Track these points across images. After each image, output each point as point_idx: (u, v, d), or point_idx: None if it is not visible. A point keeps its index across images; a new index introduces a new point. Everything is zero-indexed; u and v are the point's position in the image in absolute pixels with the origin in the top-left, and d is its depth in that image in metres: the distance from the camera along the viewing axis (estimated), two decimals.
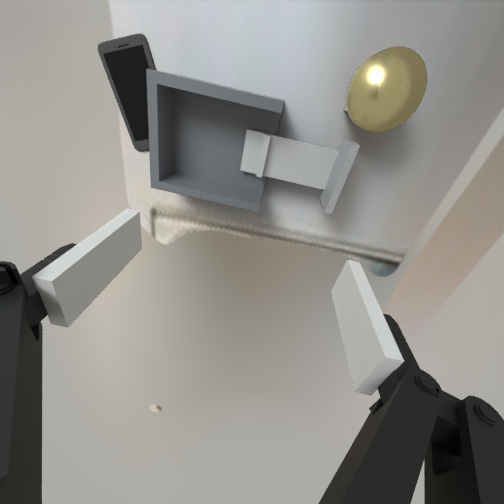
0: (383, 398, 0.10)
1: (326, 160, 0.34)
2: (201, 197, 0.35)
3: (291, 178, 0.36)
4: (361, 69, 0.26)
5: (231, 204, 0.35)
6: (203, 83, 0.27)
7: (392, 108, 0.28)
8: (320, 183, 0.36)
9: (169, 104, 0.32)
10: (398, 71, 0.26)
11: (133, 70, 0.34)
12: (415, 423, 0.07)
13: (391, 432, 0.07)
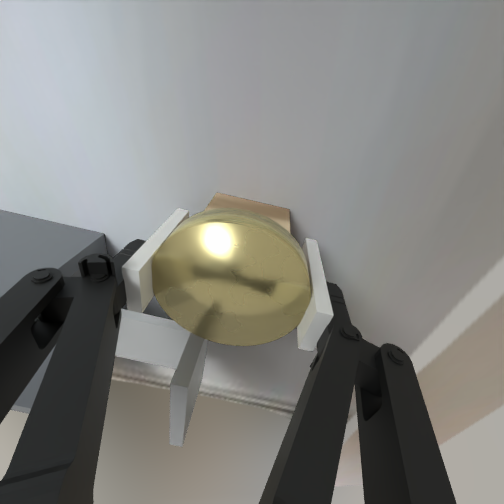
0: (319, 351, 0.11)
1: (178, 341, 0.19)
2: None
3: (131, 355, 0.21)
4: (158, 255, 0.11)
5: (19, 410, 0.20)
6: None
7: (249, 317, 0.13)
8: None
9: None
10: (241, 265, 0.11)
11: None
12: (343, 369, 0.09)
13: (324, 382, 0.08)
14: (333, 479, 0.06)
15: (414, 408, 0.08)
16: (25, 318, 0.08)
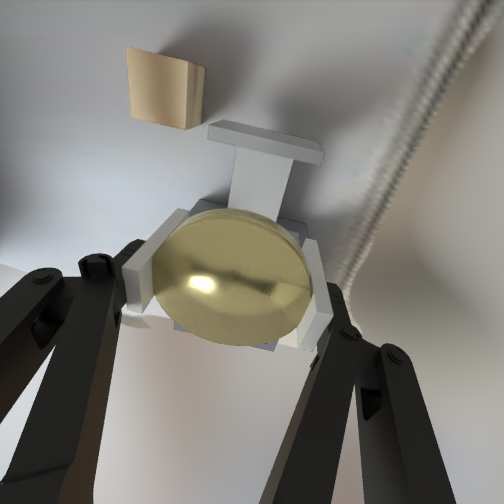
0: (319, 351, 0.11)
1: (251, 152, 0.23)
2: None
3: (276, 200, 0.26)
4: (158, 255, 0.11)
5: None
6: None
7: (249, 318, 0.13)
8: None
9: None
10: (241, 265, 0.11)
11: None
12: (343, 368, 0.09)
13: (324, 382, 0.08)
14: (333, 479, 0.06)
15: (414, 408, 0.08)
16: (25, 318, 0.08)
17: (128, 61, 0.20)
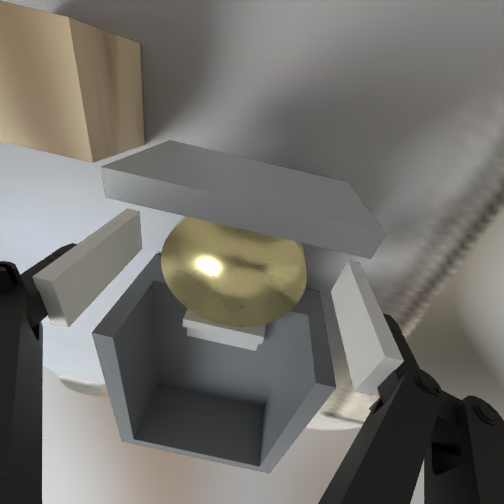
0: (383, 398, 0.10)
1: None
2: (289, 443, 0.18)
3: None
4: (168, 240, 0.12)
5: (308, 417, 0.16)
6: (114, 409, 0.18)
7: (251, 299, 0.14)
8: None
9: (173, 401, 0.25)
10: (243, 248, 0.12)
11: None
12: (415, 423, 0.07)
13: (391, 432, 0.07)
14: None
15: None
16: None
17: None
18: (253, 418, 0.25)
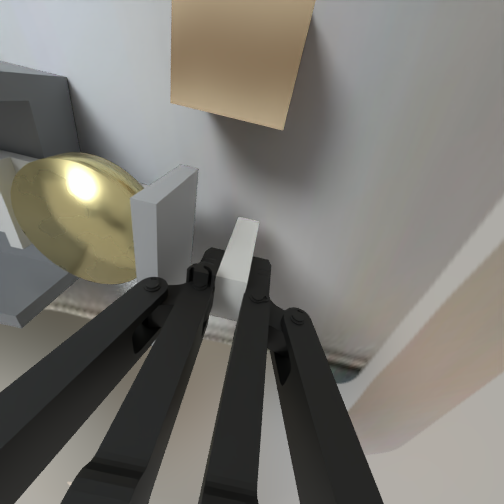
0: (237, 318, 0.12)
1: None
2: None
3: None
4: (99, 176, 0.12)
5: None
6: None
7: (66, 244, 0.15)
8: None
9: None
10: (118, 243, 0.14)
11: None
12: (256, 332, 0.09)
13: (241, 350, 0.08)
14: (259, 432, 0.06)
15: (316, 361, 0.09)
16: (131, 325, 0.08)
17: None
18: None
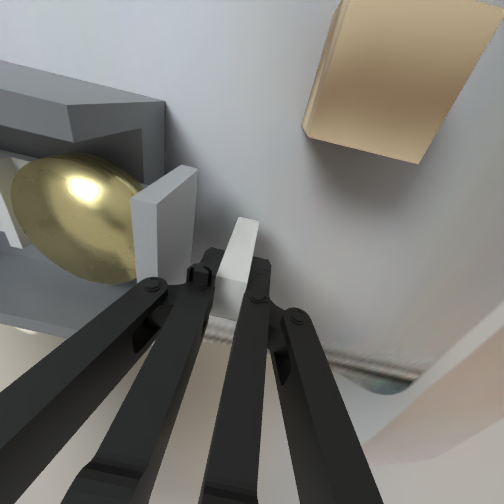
0: (237, 318, 0.12)
1: None
2: None
3: None
4: (99, 175, 0.12)
5: (51, 332, 0.16)
6: None
7: (66, 244, 0.15)
8: None
9: None
10: (118, 243, 0.14)
11: None
12: (256, 332, 0.09)
13: (241, 350, 0.08)
14: (259, 432, 0.06)
15: (316, 361, 0.09)
16: (131, 325, 0.08)
17: (476, 4, 0.08)
18: None
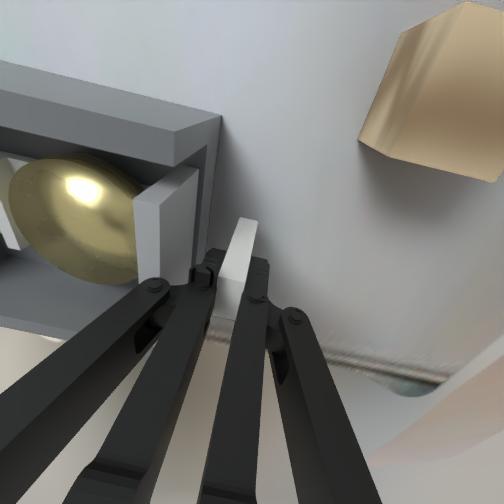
0: (236, 318, 0.12)
1: None
2: (37, 331, 0.15)
3: None
4: (99, 176, 0.12)
5: None
6: None
7: (65, 245, 0.14)
8: None
9: None
10: (118, 243, 0.14)
11: None
12: (254, 331, 0.09)
13: (239, 350, 0.08)
14: (257, 432, 0.06)
15: (314, 360, 0.09)
16: (133, 325, 0.08)
17: None
18: None
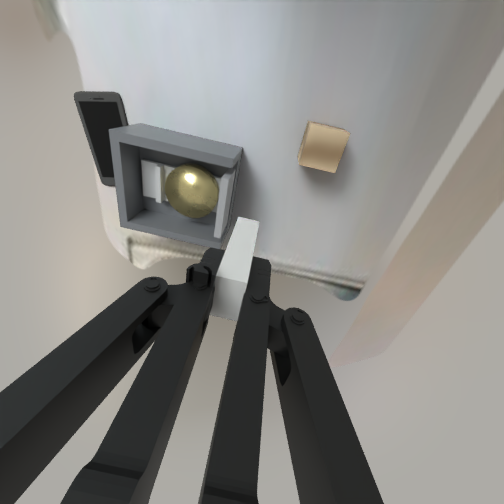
0: (238, 318, 0.12)
1: None
2: (167, 236, 0.38)
3: None
4: (202, 172, 0.34)
5: (194, 242, 0.38)
6: (160, 142, 0.30)
7: (182, 199, 0.37)
8: (217, 208, 0.39)
9: (135, 153, 0.35)
10: (203, 198, 0.36)
11: (106, 120, 0.37)
12: (256, 332, 0.09)
13: (241, 350, 0.08)
14: (259, 433, 0.06)
15: (316, 361, 0.09)
16: (131, 325, 0.08)
17: (342, 131, 0.30)
18: (139, 206, 0.40)
